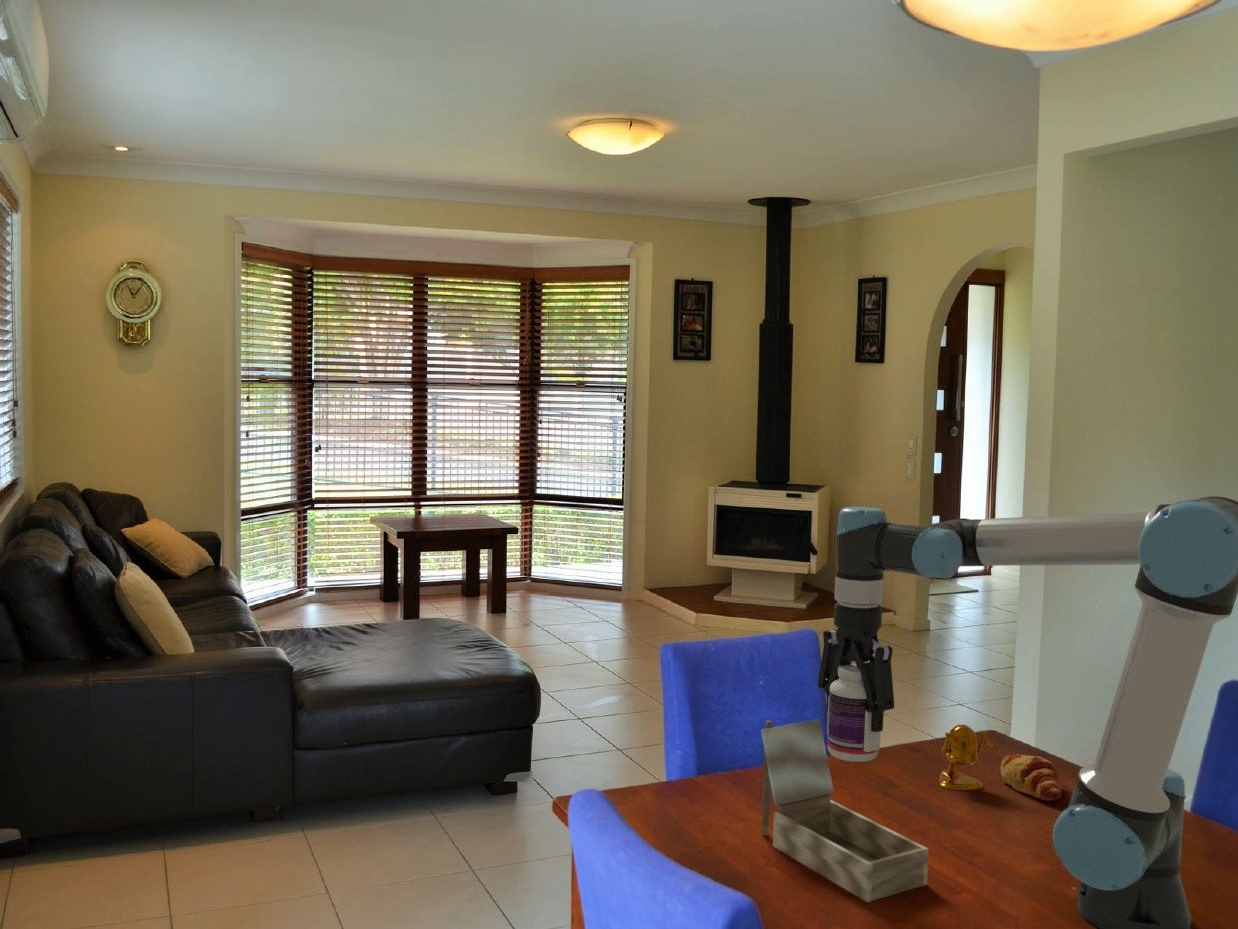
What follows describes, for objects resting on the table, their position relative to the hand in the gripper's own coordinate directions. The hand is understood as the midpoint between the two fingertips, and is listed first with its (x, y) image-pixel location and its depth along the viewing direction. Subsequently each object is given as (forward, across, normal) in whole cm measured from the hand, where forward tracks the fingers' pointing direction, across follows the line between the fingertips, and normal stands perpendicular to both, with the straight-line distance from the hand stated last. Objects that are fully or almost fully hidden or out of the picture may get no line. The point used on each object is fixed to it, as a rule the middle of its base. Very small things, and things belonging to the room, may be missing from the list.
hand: (852, 742), depth 174 cm
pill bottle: (+2, 0, 0) cm, 2 cm away
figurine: (+20, +18, -45) cm, 52 cm away
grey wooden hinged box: (+20, +2, +1) cm, 20 cm away
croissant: (+21, +10, -57) cm, 61 cm away
